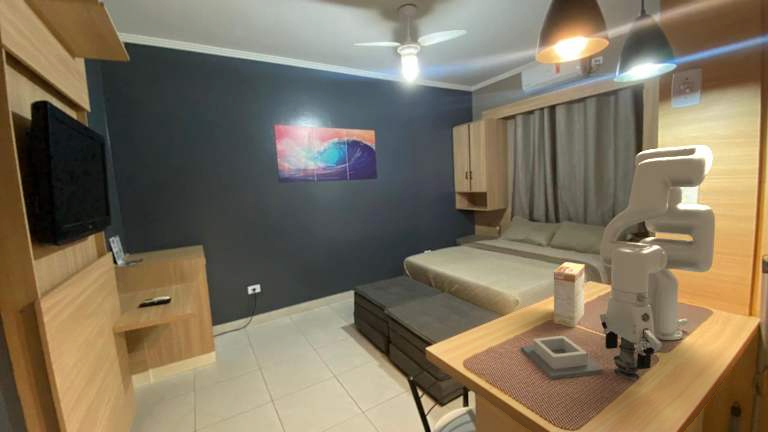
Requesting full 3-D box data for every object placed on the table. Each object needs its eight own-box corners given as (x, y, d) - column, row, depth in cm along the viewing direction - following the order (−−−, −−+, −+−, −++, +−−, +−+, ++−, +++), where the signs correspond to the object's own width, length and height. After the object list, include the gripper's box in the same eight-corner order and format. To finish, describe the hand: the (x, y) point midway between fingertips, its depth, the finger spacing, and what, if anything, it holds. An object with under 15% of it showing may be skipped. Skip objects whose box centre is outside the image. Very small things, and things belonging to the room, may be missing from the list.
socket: (565, 344, 99) (565, 331, 99) (603, 372, 84) (603, 357, 84) (520, 349, 98) (520, 335, 97) (551, 379, 83) (551, 363, 82)
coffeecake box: (564, 309, 124) (564, 261, 122) (585, 313, 120) (585, 264, 117) (552, 322, 114) (552, 271, 112) (575, 328, 109) (575, 274, 107)
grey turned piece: (646, 381, 80) (647, 337, 78) (620, 379, 81) (621, 336, 80) (632, 368, 86) (634, 326, 84) (608, 366, 87) (609, 325, 85)
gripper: (676, 307, 73) (672, 376, 74) (614, 283, 90) (612, 340, 91) (646, 309, 72) (644, 379, 74) (590, 285, 89) (588, 342, 91)
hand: (626, 357), depth 83 cm, fingers open, 9 cm apart
